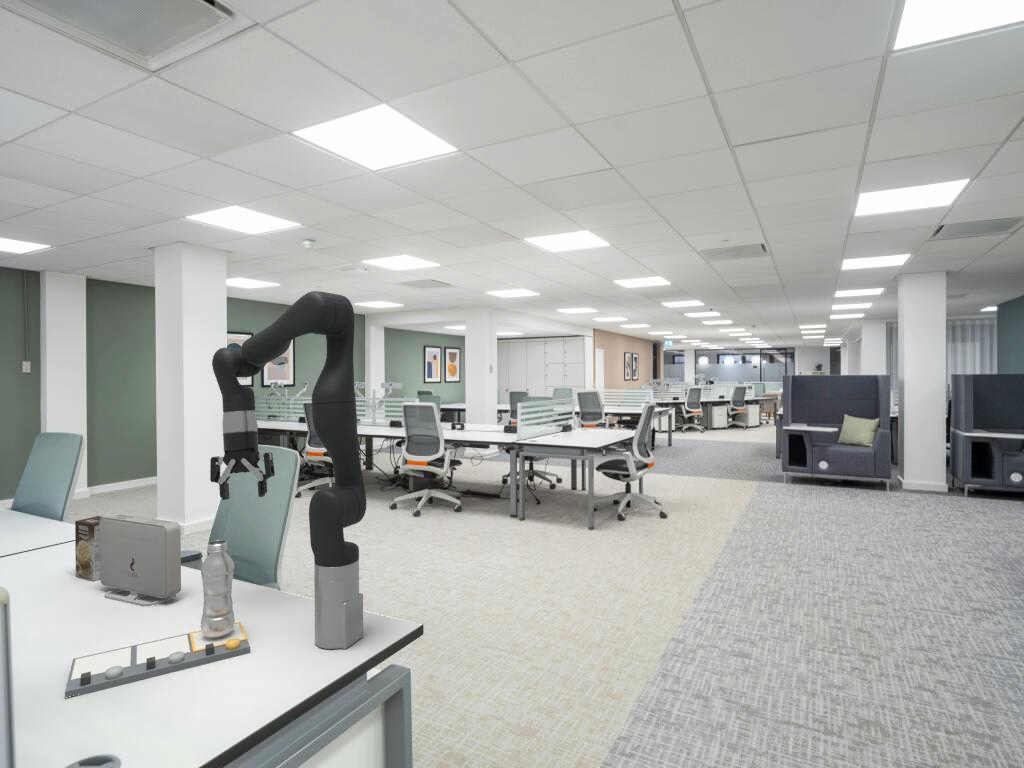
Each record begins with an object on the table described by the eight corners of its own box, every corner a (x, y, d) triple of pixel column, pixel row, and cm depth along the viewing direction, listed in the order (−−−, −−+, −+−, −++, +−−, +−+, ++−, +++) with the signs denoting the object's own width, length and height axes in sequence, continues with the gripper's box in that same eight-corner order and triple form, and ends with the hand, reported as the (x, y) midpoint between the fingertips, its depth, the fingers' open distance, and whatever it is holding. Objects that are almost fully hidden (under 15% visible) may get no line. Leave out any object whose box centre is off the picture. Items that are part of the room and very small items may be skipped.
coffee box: (74, 576, 160) (73, 520, 159) (98, 569, 166) (98, 515, 165) (93, 581, 156) (92, 524, 156) (117, 574, 162) (117, 518, 161)
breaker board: (240, 627, 128) (240, 615, 128) (250, 652, 116) (250, 640, 116) (73, 664, 111) (72, 651, 111) (65, 698, 99) (64, 684, 99)
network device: (91, 594, 147) (90, 518, 146) (124, 583, 155) (124, 511, 154) (158, 610, 137) (157, 528, 137) (191, 597, 145) (190, 519, 145)
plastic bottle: (222, 626, 125) (222, 536, 125) (241, 632, 122) (240, 540, 121) (194, 637, 119) (193, 544, 119) (213, 645, 116) (212, 548, 116)
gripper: (202, 433, 132) (205, 503, 131) (263, 428, 132) (267, 497, 131) (218, 432, 139) (221, 498, 138) (276, 427, 140) (280, 493, 139)
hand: (244, 498), depth 135 cm, fingers open, 8 cm apart
